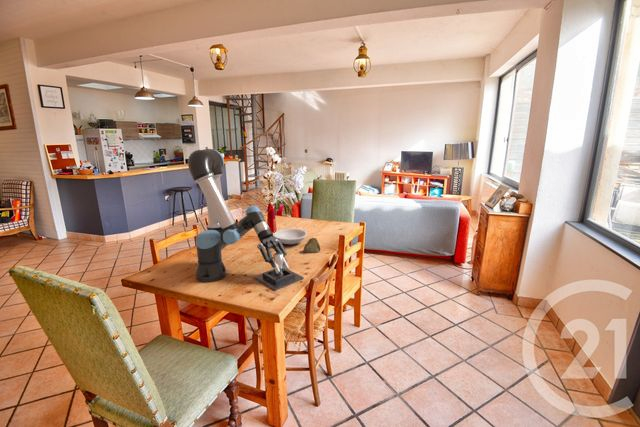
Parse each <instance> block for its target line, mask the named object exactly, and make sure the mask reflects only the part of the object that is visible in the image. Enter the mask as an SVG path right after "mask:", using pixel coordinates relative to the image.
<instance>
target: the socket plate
mask: <svg viewBox="0 0 640 427" xmlns="http://www.w3.org/2000/svg"><path fill="white" fill-rule="evenodd" d="M254 279H255V280H256V281H258V282H259V283H262V284H263V285H264V286H267V287H270V288H269V289H271V290H272V291H274V292H275V291H278V290H281V289H283V288H285V287H288V286H291V285H292V284H295V283H297V281H298V282H300V281H302V280H304V279H305V278H304V276H302V275H301V274H298V273H296V272H294V271H292V270H290V269H289V268H288V269H287V270H285V268H284V275H283V276H279V277H278V276H274V268H273V269H270V270H266V271H265V272H262V273H261V274H258V275H255V276H254ZM299 280H300V281H299Z"/></svg>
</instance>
